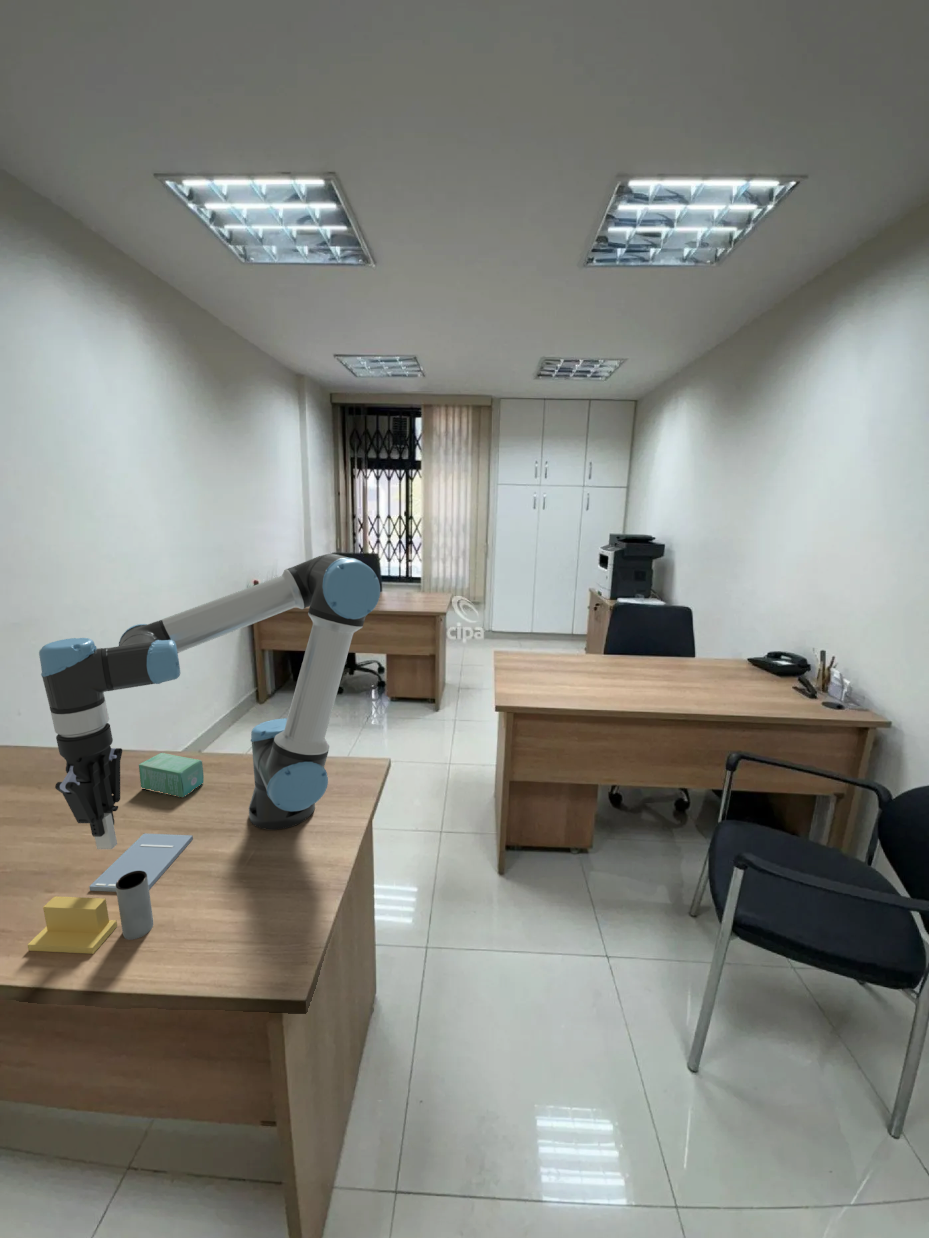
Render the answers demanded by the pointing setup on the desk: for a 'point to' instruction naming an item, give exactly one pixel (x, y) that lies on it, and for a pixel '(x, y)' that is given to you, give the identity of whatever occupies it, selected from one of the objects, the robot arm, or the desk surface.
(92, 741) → the robot arm
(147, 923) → the gray cylinder
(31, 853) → the desk surface
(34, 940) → the yellow stepped block
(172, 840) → the ticket
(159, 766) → the box
